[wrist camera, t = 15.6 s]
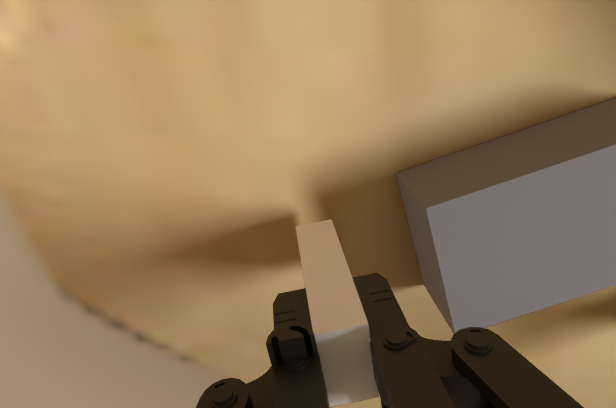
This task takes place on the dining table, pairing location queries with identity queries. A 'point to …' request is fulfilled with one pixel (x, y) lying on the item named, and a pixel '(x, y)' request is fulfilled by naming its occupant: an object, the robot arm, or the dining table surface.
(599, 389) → the dining table surface
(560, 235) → the block
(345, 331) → the robot arm
